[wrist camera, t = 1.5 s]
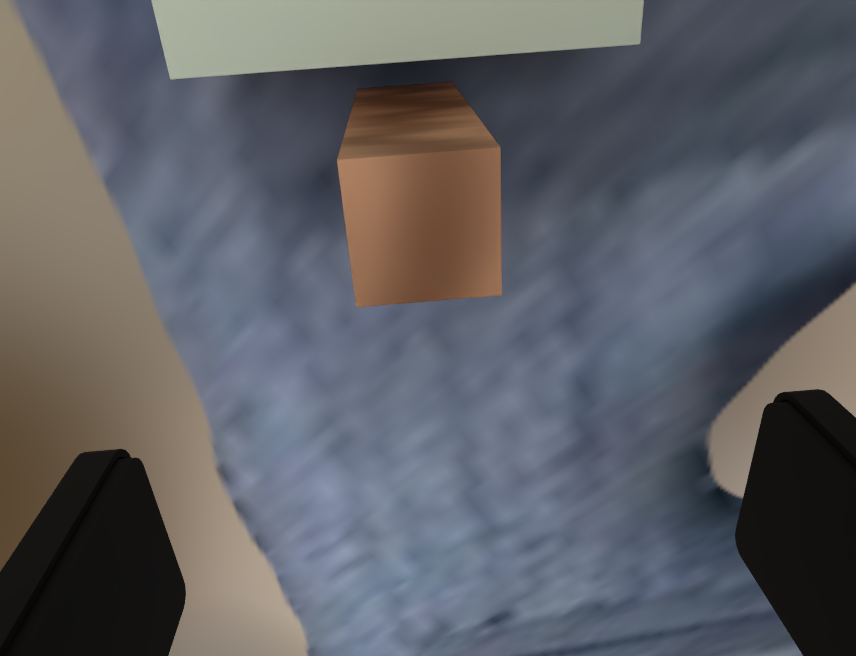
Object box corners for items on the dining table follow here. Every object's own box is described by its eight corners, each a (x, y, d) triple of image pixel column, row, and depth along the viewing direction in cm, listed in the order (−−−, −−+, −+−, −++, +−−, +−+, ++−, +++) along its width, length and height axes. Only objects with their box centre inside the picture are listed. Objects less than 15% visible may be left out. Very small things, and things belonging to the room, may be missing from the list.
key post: (451, 81, 33) (500, 146, 19) (455, 175, 36) (501, 295, 22) (357, 88, 33) (337, 160, 19) (367, 182, 36) (356, 307, 22)
